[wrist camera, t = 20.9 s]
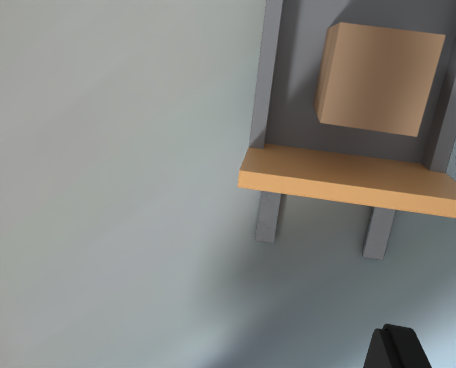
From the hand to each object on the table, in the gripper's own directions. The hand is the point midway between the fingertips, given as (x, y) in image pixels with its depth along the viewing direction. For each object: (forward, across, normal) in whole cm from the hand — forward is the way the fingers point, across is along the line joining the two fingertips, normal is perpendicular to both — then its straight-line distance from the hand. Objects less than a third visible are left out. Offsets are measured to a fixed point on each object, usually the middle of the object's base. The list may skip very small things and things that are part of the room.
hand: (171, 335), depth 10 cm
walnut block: (+21, -6, -6) cm, 23 cm away
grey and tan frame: (+24, -6, -7) cm, 25 cm away
